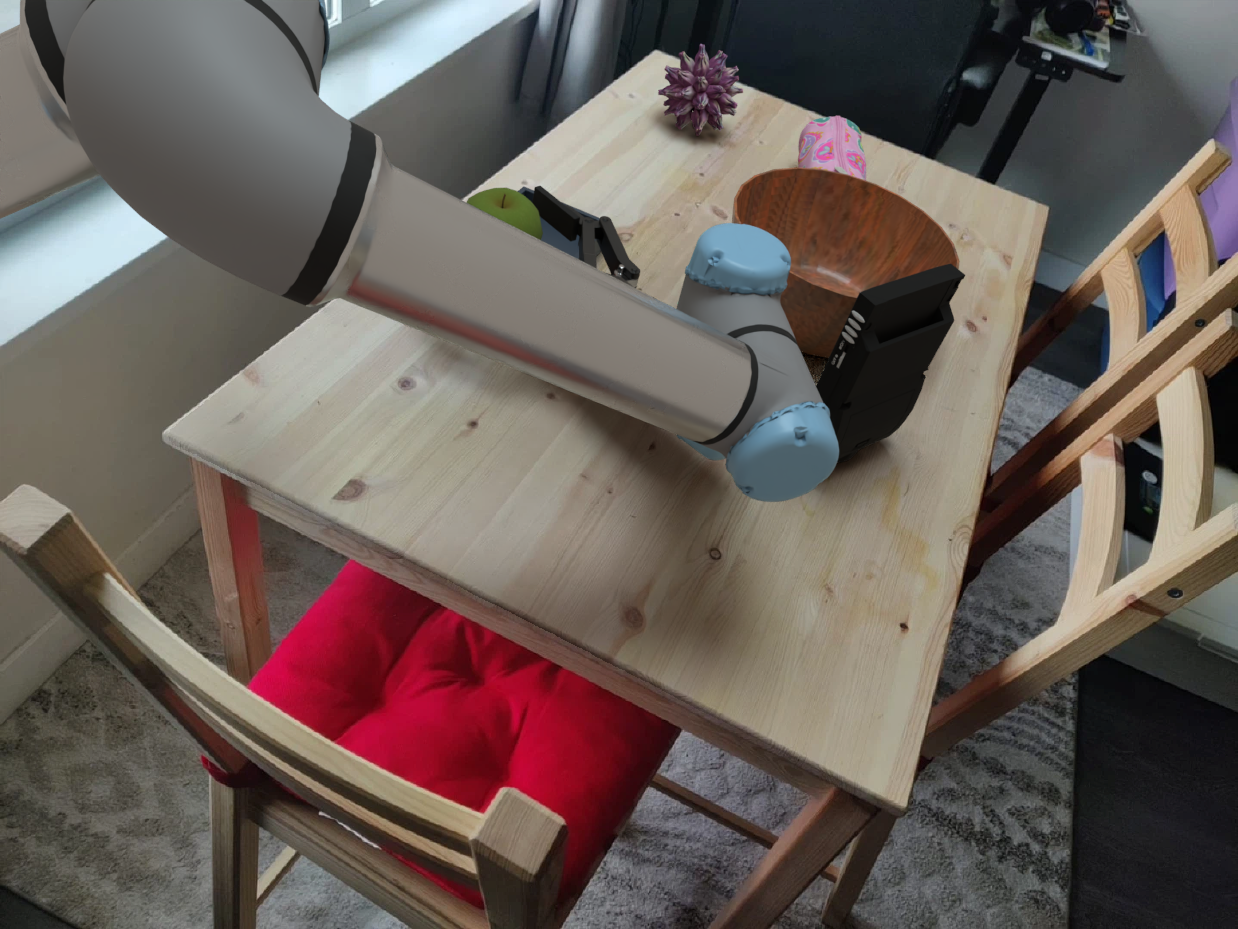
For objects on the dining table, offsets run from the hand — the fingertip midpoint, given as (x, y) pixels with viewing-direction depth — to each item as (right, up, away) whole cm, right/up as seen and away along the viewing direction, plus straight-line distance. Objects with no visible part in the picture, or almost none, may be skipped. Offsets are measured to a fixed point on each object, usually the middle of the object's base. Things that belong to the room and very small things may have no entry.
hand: (483, 212), depth 92 cm
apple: (0, -7, +5) cm, 8 cm away
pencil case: (+41, +9, +31) cm, 52 cm away
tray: (+3, -4, +9) cm, 10 cm away
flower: (+24, +23, +40) cm, 52 cm away
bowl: (+36, -8, +13) cm, 39 cm away
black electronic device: (+35, -24, -2) cm, 43 cm away
